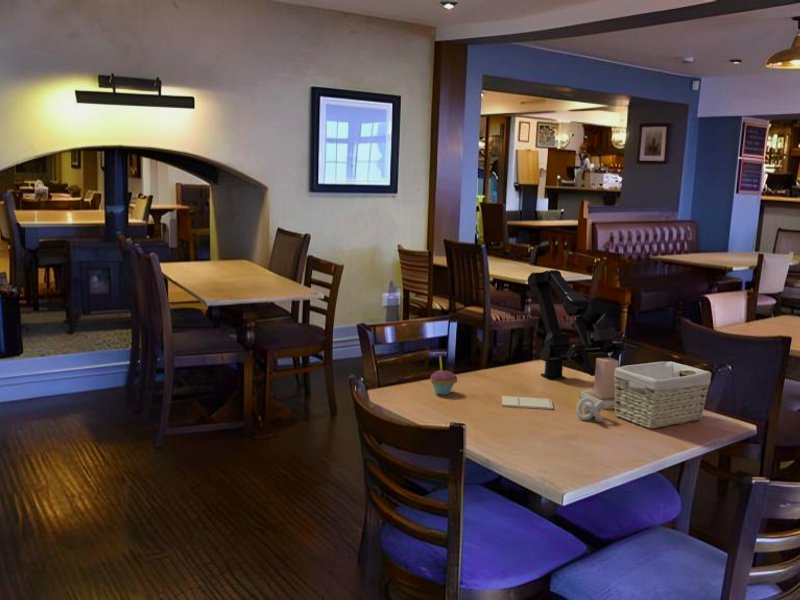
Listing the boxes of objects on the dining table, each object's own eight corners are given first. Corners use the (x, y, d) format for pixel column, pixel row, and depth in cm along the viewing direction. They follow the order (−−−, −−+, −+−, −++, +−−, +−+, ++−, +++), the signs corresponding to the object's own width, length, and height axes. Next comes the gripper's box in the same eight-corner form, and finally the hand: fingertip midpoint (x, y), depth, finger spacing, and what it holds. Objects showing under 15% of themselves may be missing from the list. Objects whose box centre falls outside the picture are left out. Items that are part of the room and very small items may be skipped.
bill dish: (579, 397, 224) (579, 391, 223) (606, 395, 227) (606, 389, 227) (601, 409, 212) (602, 402, 212) (629, 406, 216) (630, 400, 215)
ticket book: (502, 397, 221) (502, 395, 221) (550, 400, 220) (550, 398, 219) (502, 406, 213) (502, 404, 212) (553, 409, 211) (553, 407, 211)
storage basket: (664, 405, 218) (668, 359, 216) (710, 421, 204) (715, 371, 202) (608, 415, 206) (611, 366, 204) (652, 433, 193) (656, 380, 190)
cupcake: (424, 391, 226) (425, 355, 224) (442, 387, 231) (444, 351, 230) (443, 398, 219) (444, 360, 218) (462, 393, 225) (463, 356, 223)
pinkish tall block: (592, 398, 221) (595, 358, 219) (606, 397, 223) (609, 357, 221) (601, 403, 217) (604, 361, 215) (615, 401, 218) (618, 360, 216)
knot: (610, 424, 199) (611, 404, 198) (582, 424, 198) (584, 404, 197) (600, 416, 206) (601, 396, 205) (573, 416, 205) (575, 396, 204)
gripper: (573, 319, 218) (592, 362, 209) (624, 317, 224) (644, 359, 215) (558, 338, 226) (575, 381, 218) (607, 336, 232) (626, 377, 224)
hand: (605, 374), depth 219 cm, fingers open, 9 cm apart
